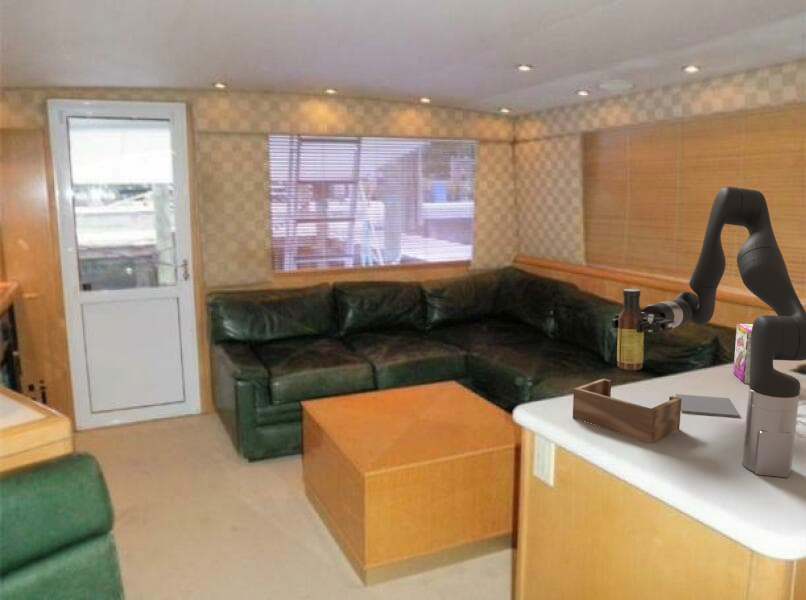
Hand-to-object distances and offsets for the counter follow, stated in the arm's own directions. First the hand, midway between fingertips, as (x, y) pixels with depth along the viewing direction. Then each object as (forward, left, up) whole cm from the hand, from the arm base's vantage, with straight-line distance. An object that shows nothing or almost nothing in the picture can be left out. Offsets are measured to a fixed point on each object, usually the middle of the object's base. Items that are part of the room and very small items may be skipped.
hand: (625, 326), depth 158 cm
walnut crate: (+1, -1, -26) cm, 26 cm away
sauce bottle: (+2, -1, -11) cm, 11 cm away
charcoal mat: (+20, -23, -26) cm, 40 cm away
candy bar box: (+50, -39, -26) cm, 69 cm away
